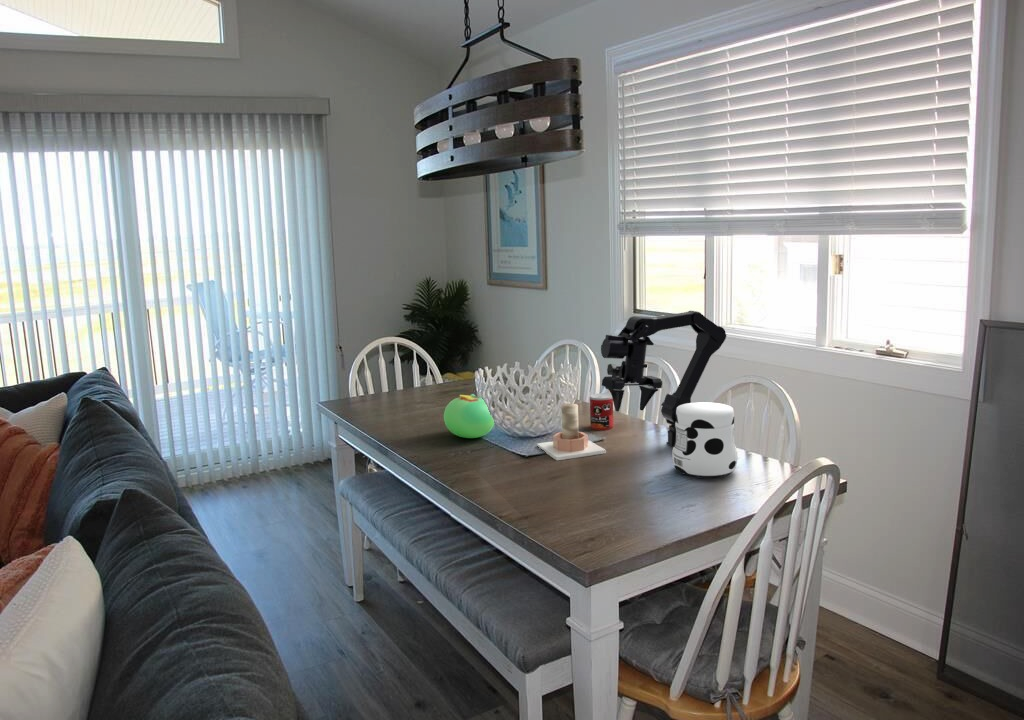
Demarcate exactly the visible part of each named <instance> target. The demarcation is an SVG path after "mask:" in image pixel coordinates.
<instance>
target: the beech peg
mask: <svg viewBox="0 0 1024 720" xmlns="http://www.w3.org/2000/svg"><path fill="white" fill-rule="evenodd" d="M560 406H561V432H562V439H569V440H572V439H579V432H580V430H579V405H578V404H577V403H564V404H561V405H560Z"/></svg>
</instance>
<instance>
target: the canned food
mask: <svg viewBox="0 0 1024 720" xmlns="http://www.w3.org/2000/svg"><path fill="white" fill-rule="evenodd" d="M589 415H590V416H589V418H590V420H589V422H590V428H591V430H595V431H607V430H608V431H609V430H611V429H612V428H613V427H614V402H613V398H612V395H611V393H608V392H607V393H606V392H604V393H600V392H599V393H593V394H590V396H589Z"/></svg>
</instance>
